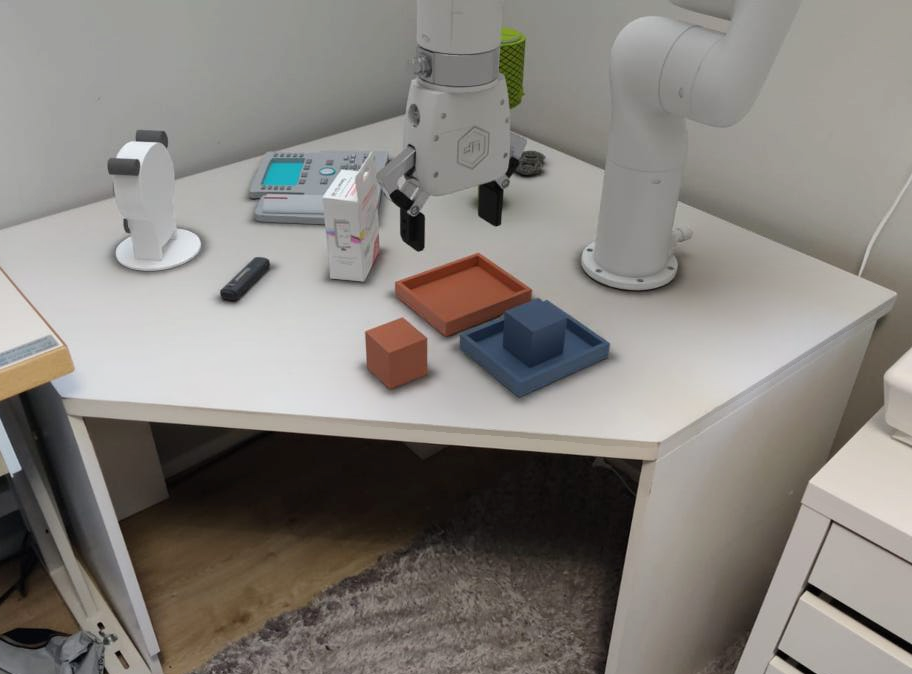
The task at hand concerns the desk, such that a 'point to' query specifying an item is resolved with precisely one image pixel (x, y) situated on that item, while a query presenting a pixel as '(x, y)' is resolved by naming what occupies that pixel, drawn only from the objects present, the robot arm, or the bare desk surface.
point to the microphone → (512, 64)
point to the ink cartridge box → (352, 222)
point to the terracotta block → (396, 352)
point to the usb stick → (244, 278)
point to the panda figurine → (149, 205)
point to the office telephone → (303, 183)
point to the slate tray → (522, 380)
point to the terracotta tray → (462, 293)
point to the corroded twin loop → (530, 162)
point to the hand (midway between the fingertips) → (452, 233)
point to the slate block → (534, 332)
